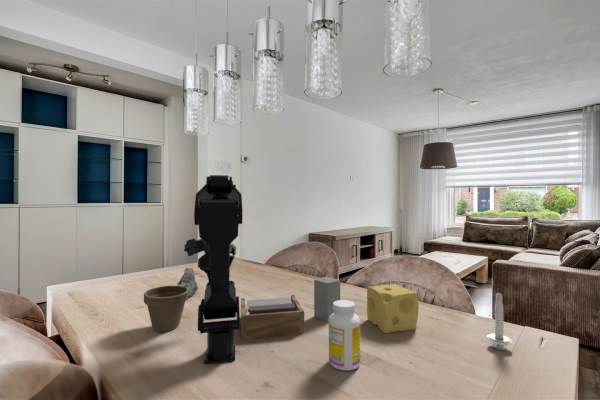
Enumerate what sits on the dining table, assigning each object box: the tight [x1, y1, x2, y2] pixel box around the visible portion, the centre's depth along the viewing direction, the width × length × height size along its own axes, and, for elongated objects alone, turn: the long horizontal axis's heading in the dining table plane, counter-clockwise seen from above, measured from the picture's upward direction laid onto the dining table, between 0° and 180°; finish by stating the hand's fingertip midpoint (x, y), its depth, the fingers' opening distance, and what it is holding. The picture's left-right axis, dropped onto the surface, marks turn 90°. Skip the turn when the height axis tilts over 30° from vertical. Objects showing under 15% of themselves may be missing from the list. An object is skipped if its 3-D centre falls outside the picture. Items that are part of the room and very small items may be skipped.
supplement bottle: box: [328, 299, 361, 372], centre depth 66 cm, size 7×7×13 cm
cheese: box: [366, 283, 420, 334], centre depth 87 cm, size 10×11×10 cm
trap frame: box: [240, 294, 305, 339], centre depth 87 cm, size 14×16×6 cm
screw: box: [486, 292, 512, 351], centre depth 73 cm, size 13×5×5 cm
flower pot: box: [143, 285, 190, 333], centre depth 85 cm, size 12×11×10 cm
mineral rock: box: [176, 267, 199, 297], centre depth 114 cm, size 13×11×10 cm
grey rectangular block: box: [313, 276, 341, 323], centre depth 92 cm, size 6×6×11 cm
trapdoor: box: [246, 297, 295, 314], centre depth 87 cm, size 12×13×3 cm
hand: (217, 287), depth 81 cm, fingers open, 9 cm apart
